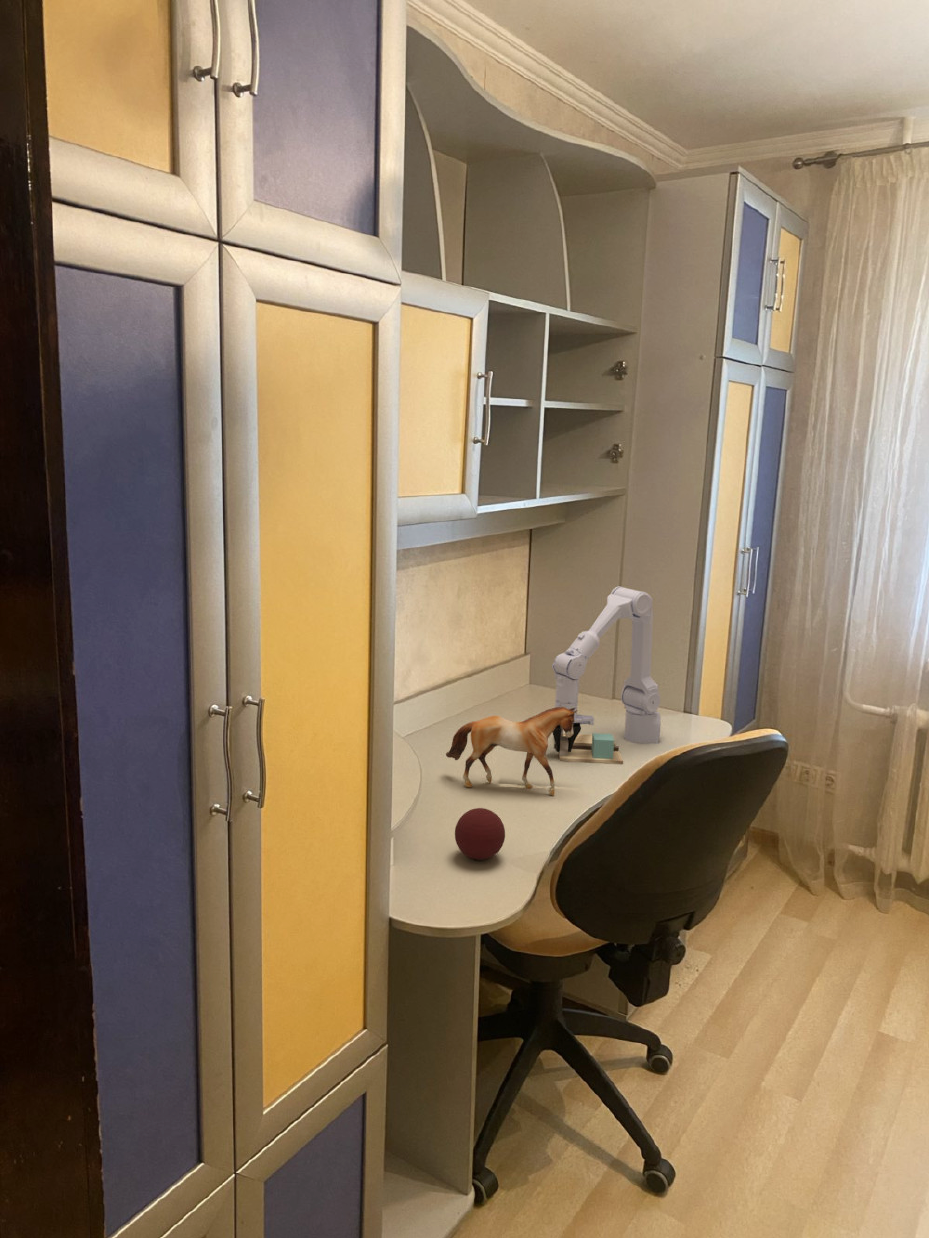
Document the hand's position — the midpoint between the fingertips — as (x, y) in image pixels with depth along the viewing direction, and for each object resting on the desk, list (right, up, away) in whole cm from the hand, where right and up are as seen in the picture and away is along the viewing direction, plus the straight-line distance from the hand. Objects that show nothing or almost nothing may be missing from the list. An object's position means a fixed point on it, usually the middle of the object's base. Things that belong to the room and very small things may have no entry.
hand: (563, 750), depth 237 cm
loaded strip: (+7, -2, 0) cm, 7 cm away
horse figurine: (-15, -6, -16) cm, 23 cm away
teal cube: (+10, -1, 0) cm, 10 cm away
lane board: (+7, -1, +6) cm, 9 cm away
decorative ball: (-23, -14, -54) cm, 60 cm away
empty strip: (+7, +1, +12) cm, 14 cm away
